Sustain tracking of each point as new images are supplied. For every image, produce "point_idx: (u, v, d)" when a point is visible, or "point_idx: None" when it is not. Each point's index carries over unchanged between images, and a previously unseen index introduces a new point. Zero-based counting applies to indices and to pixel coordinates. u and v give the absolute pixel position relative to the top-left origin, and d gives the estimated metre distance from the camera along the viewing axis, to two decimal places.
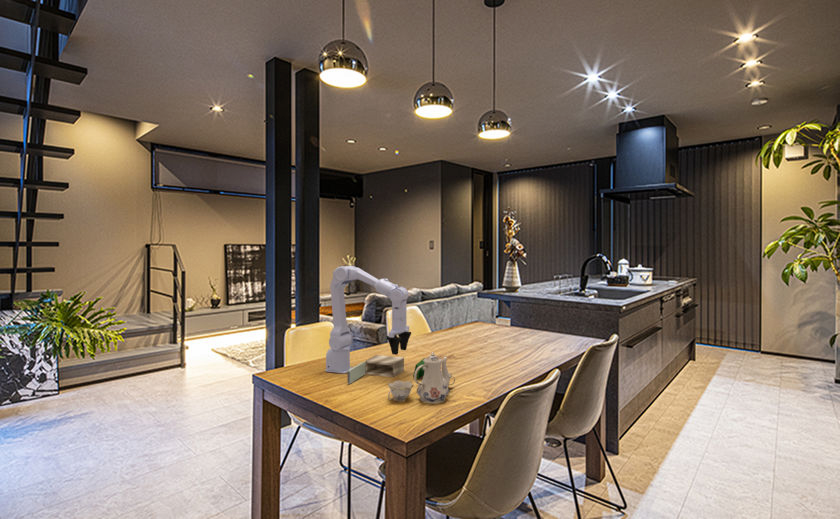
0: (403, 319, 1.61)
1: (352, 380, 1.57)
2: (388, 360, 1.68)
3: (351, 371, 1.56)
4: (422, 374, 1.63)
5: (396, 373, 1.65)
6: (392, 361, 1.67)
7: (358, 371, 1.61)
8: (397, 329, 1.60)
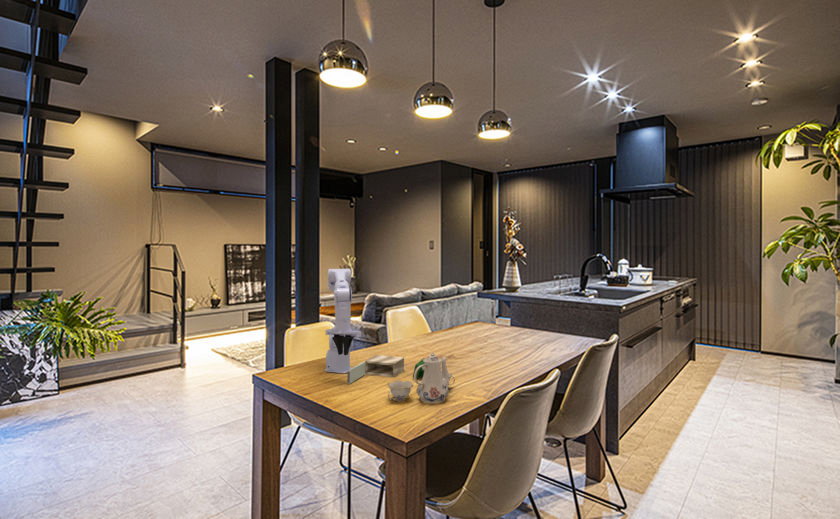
0: (336, 320, 1.56)
1: (352, 380, 1.57)
2: (388, 360, 1.68)
3: (351, 371, 1.56)
4: (422, 374, 1.63)
5: (396, 373, 1.65)
6: (392, 361, 1.67)
7: (358, 371, 1.61)
8: (335, 329, 1.59)
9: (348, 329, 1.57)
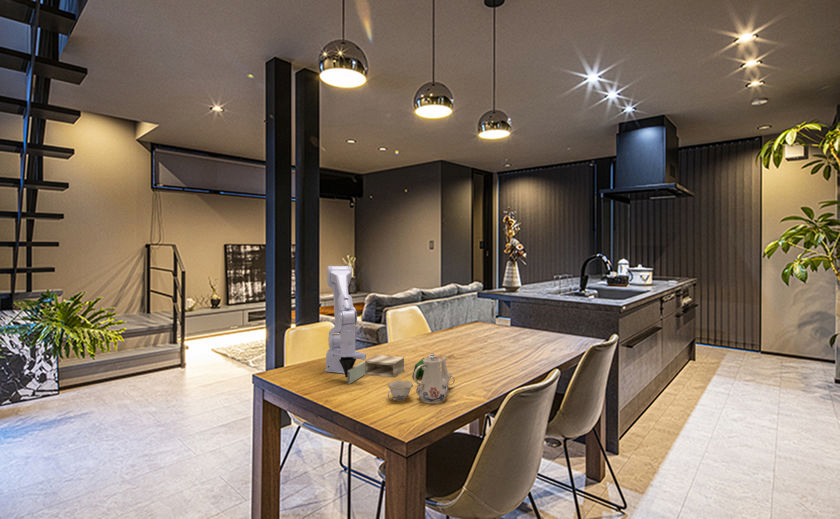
0: (341, 343, 1.56)
1: (352, 380, 1.57)
2: (388, 360, 1.68)
3: (351, 371, 1.56)
4: (421, 374, 1.63)
5: (396, 373, 1.65)
6: (392, 361, 1.67)
7: (358, 371, 1.61)
8: None
9: (353, 352, 1.57)
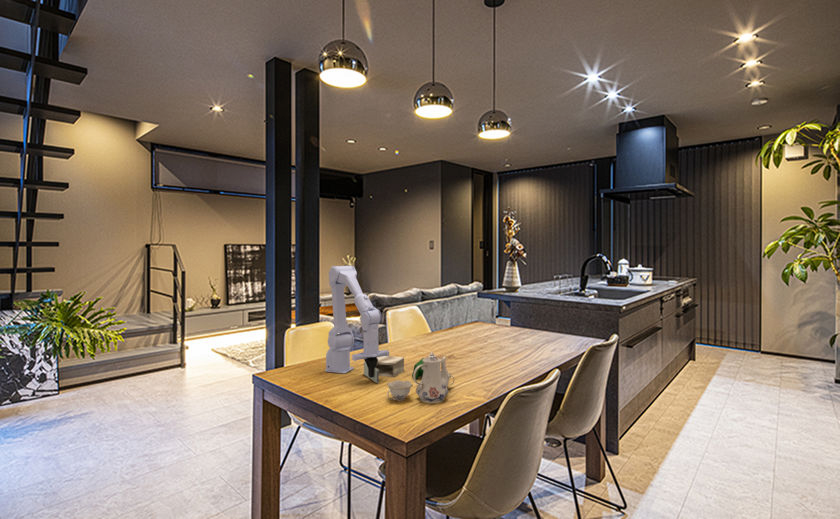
0: (370, 343, 1.55)
1: None
2: (388, 360, 1.68)
3: None
4: (421, 374, 1.63)
5: (396, 373, 1.65)
6: (392, 361, 1.67)
7: None
8: (364, 353, 1.56)
9: None
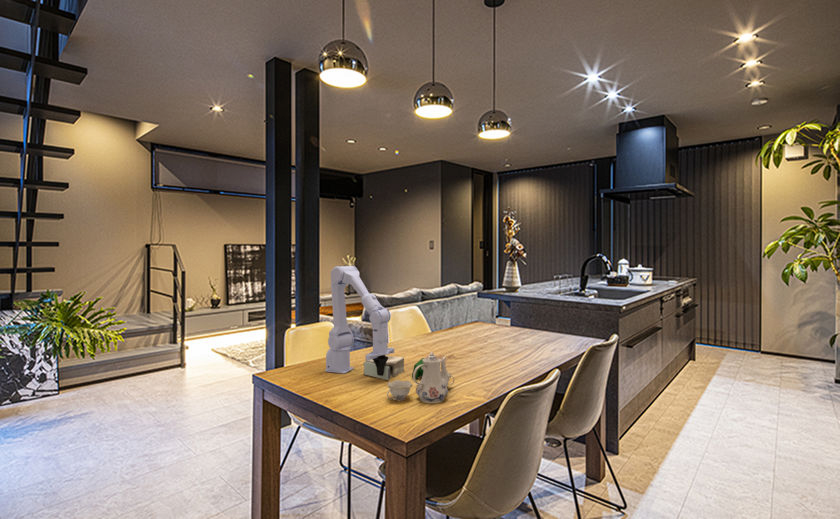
0: (382, 342, 1.57)
1: None
2: (388, 360, 1.68)
3: None
4: (421, 374, 1.63)
5: (396, 373, 1.65)
6: (392, 361, 1.67)
7: None
8: (376, 352, 1.57)
9: None
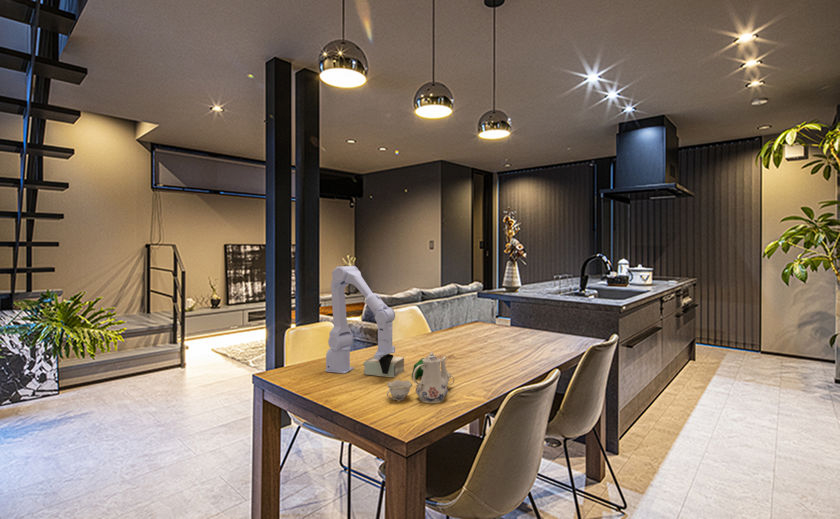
0: (389, 340, 1.60)
1: None
2: None
3: None
4: (420, 374, 1.63)
5: (396, 373, 1.65)
6: (392, 361, 1.67)
7: None
8: (383, 351, 1.59)
9: None
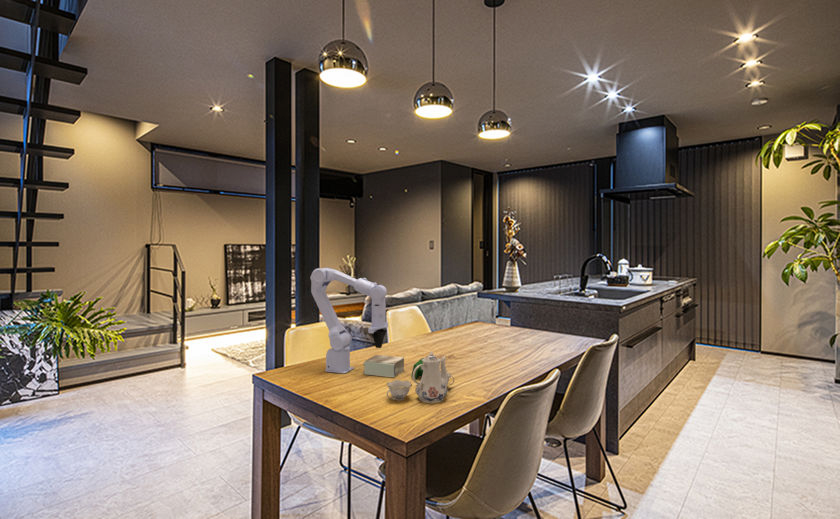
0: (382, 316, 1.68)
1: None
2: (388, 360, 1.68)
3: None
4: (420, 374, 1.63)
5: (396, 373, 1.65)
6: (392, 361, 1.67)
7: None
8: (376, 325, 1.67)
9: None
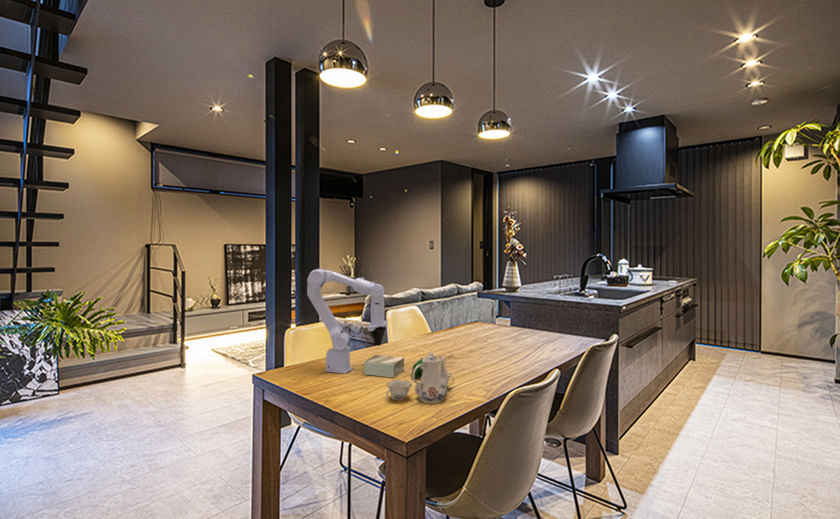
0: (381, 314, 1.72)
1: None
2: (388, 360, 1.68)
3: None
4: (420, 374, 1.63)
5: (396, 373, 1.65)
6: (392, 361, 1.67)
7: None
8: (376, 323, 1.71)
9: None
